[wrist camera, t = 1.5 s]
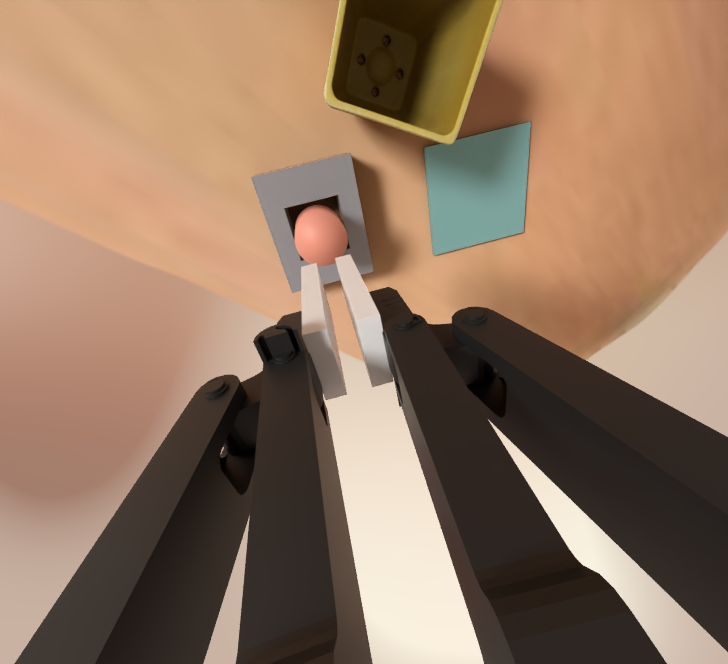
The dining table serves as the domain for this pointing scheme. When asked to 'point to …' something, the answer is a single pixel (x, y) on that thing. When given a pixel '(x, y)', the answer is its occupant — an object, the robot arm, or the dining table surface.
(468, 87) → the flower pot
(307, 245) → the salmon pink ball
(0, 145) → the dining table surface
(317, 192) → the housing
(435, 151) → the pad
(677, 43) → the dining table surface
